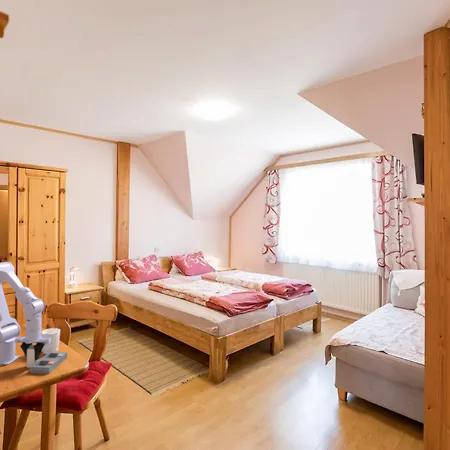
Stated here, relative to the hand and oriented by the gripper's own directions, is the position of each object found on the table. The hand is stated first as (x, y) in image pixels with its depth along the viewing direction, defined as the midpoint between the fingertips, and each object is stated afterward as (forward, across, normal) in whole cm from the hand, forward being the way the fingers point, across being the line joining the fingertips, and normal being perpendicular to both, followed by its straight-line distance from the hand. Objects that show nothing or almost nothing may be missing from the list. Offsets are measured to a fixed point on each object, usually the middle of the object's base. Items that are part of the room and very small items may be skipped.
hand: (32, 359), depth 136 cm
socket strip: (+3, +6, +2) cm, 7 cm away
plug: (+3, 0, 0) cm, 3 cm away
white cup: (+3, 0, +15) cm, 15 cm away
